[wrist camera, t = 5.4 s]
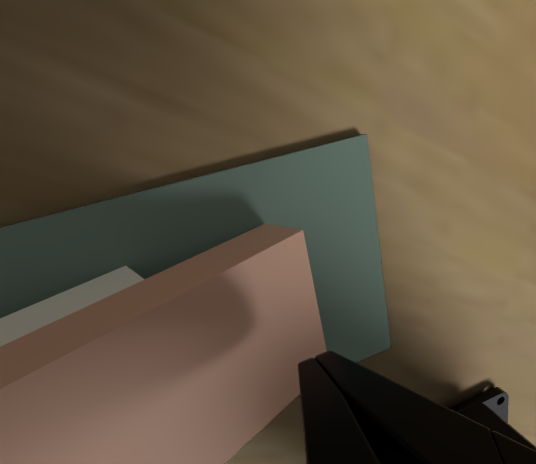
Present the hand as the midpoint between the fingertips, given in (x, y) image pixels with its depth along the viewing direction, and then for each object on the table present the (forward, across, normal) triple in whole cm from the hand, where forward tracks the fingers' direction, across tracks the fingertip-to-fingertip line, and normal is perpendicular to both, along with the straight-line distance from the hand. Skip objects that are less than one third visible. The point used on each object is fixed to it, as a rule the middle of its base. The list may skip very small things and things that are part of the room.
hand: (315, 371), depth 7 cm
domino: (+3, -1, 0) cm, 3 cm away
